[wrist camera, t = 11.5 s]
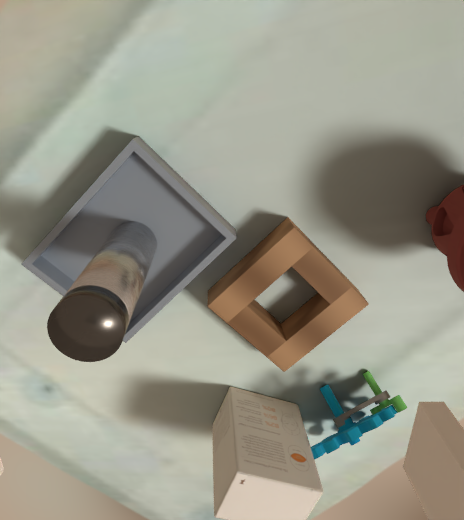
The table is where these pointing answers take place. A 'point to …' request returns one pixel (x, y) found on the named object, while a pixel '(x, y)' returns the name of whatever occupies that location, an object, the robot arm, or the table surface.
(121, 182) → the tray
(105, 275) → the pin
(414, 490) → the robot arm
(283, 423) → the small box
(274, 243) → the socket
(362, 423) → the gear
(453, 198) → the mechanical component
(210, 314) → the table surface
